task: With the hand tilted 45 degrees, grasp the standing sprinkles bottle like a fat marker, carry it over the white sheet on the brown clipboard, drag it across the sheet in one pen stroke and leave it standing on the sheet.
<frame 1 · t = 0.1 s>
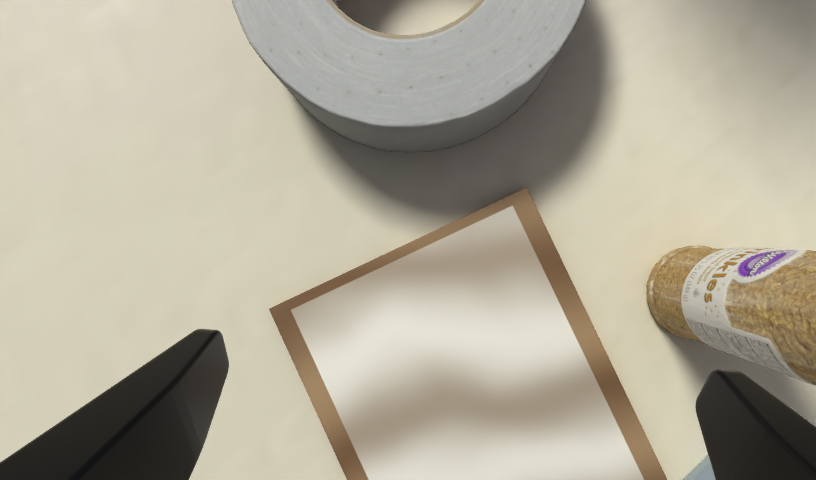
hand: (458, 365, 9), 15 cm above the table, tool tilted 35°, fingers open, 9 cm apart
clipboard: (474, 413, 23), on the table
tape roll: (412, 5, 24), on the table
sprinkles bottle: (687, 292, 23), on the table
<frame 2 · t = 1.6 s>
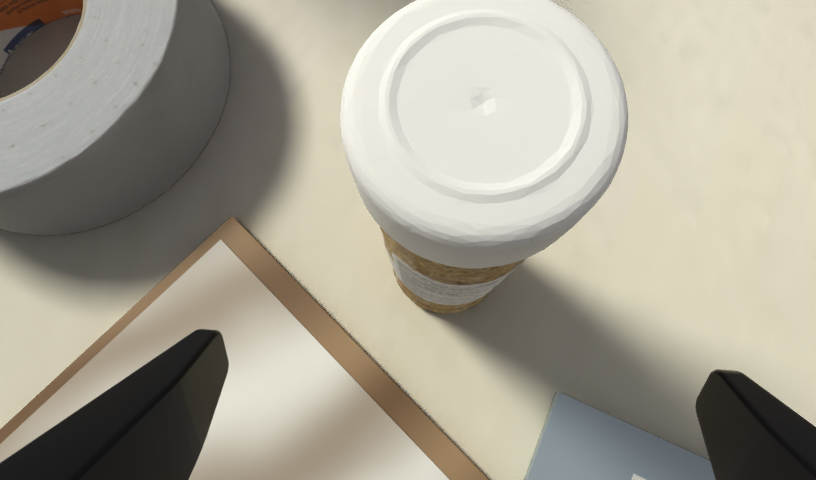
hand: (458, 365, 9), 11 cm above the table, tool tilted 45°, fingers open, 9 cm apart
tape roll: (80, 86, 23), on the table
sprinkles bottle: (445, 263, 20), on the table
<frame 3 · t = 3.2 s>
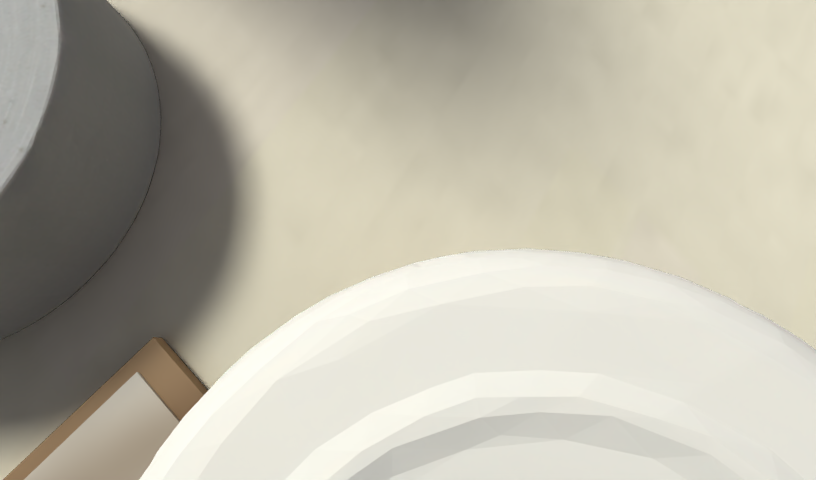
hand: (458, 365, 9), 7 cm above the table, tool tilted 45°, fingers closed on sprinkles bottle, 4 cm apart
sprinkles bottle: (441, 402, 15), on the table, touching gripper
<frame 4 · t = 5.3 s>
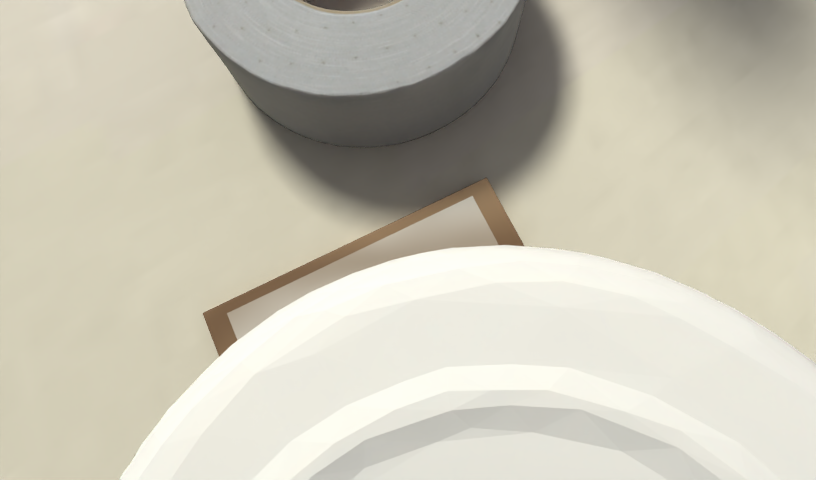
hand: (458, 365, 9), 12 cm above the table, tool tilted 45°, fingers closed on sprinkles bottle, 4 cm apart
clipboard: (437, 435, 20), on the table
tape roll: (368, 13, 25), on the table
sprinkles bottle: (447, 400, 15), point 5 cm above the table, touching gripper
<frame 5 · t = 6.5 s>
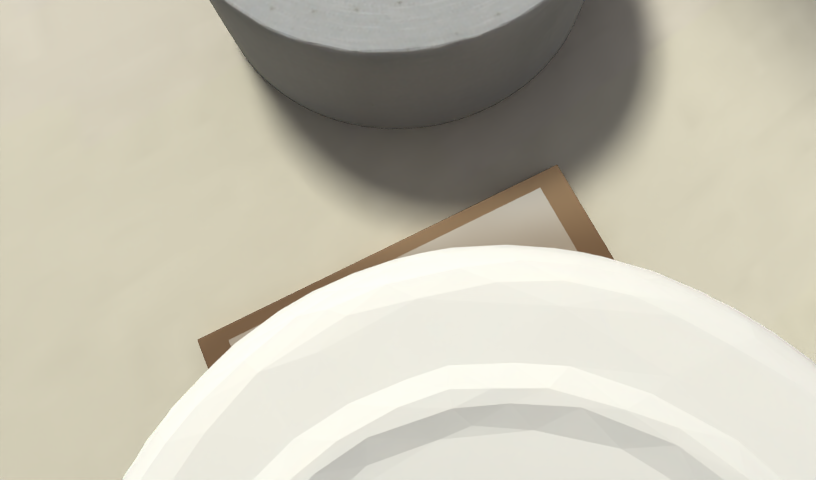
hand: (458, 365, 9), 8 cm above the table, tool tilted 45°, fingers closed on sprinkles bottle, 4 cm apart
sprinkles bottle: (447, 400, 15), point 1 cm above the table, touching gripper
when the fingers open (8 cm above the table, at t = 7.7 s): sprinkles bottle stays where it is, resting on clipboard.
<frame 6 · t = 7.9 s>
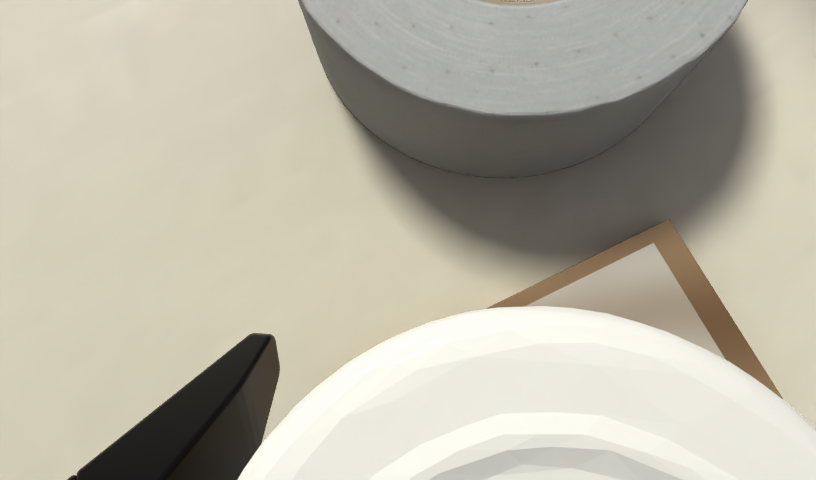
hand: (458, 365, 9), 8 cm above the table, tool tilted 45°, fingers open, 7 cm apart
tape roll: (494, 9, 20), on the table
sprinkles bottle: (448, 406, 16), resting on clipboard
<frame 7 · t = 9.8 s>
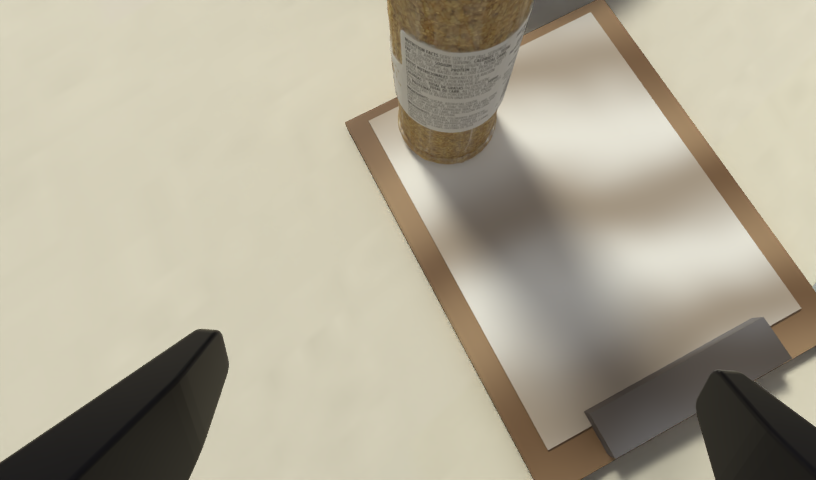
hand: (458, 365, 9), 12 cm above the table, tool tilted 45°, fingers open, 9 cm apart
clipboard: (573, 222, 21), on the table
sprinkles bottle: (446, 124, 22), resting on clipboard
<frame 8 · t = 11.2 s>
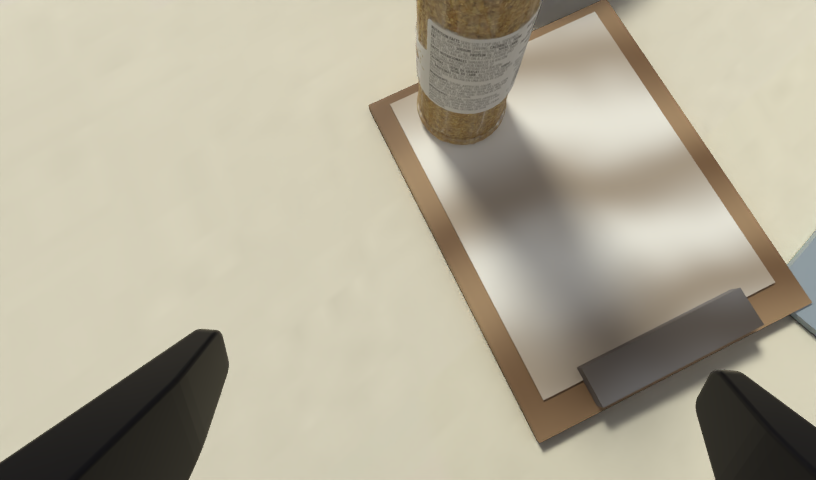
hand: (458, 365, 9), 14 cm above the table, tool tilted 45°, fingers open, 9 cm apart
clipboard: (573, 200, 23), on the table
sprinkles bottle: (460, 109, 24), resting on clipboard
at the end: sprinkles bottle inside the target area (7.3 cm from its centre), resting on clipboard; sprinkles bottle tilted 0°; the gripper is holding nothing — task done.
